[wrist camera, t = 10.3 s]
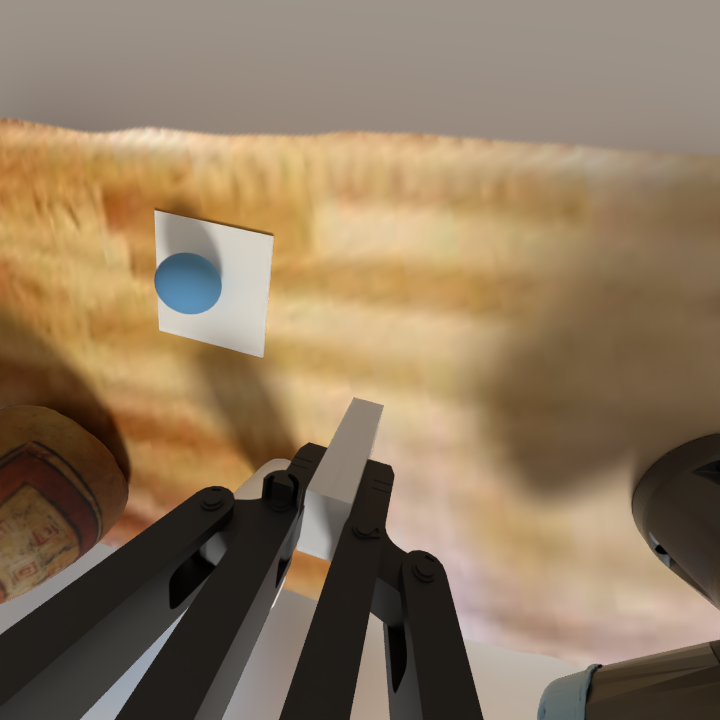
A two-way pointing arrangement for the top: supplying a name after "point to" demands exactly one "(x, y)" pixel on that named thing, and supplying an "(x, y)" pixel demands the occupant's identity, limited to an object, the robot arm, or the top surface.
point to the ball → (188, 283)
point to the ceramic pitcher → (51, 495)
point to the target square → (238, 277)
